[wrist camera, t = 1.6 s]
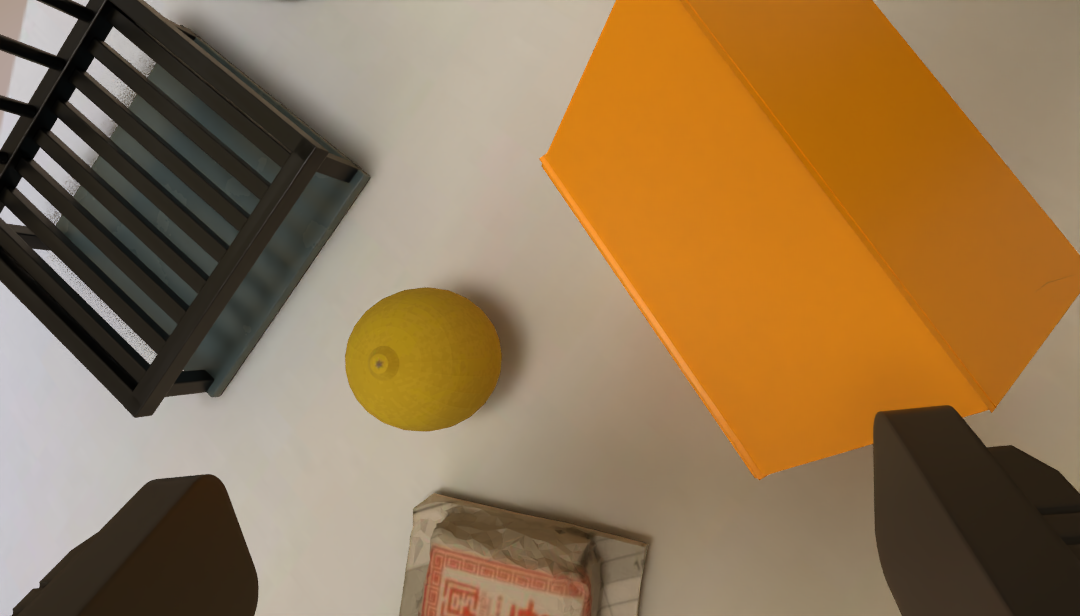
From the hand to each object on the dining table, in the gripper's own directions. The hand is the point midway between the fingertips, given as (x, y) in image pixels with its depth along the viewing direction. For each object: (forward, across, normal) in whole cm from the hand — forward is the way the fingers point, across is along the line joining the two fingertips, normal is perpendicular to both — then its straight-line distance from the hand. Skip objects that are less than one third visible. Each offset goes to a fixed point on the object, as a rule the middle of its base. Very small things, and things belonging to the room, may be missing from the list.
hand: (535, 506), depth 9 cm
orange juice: (+22, -7, +5) cm, 24 cm away
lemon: (+23, +7, +8) cm, 25 cm away
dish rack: (+27, +19, +1) cm, 34 cm away
